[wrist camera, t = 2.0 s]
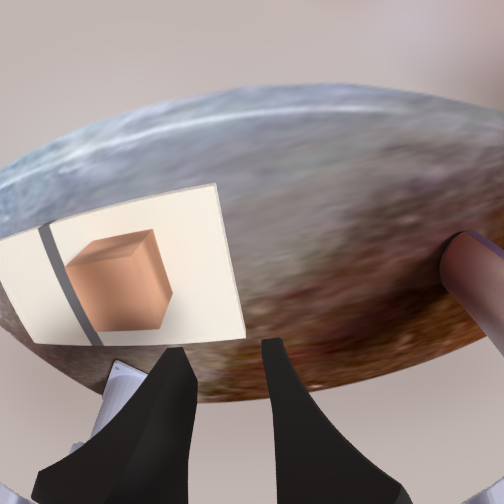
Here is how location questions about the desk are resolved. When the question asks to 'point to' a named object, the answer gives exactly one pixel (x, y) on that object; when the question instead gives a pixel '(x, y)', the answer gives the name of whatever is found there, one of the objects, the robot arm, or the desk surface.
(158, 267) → the block
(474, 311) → the beverage can
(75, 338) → the board
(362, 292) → the desk surface
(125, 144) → the desk surface
